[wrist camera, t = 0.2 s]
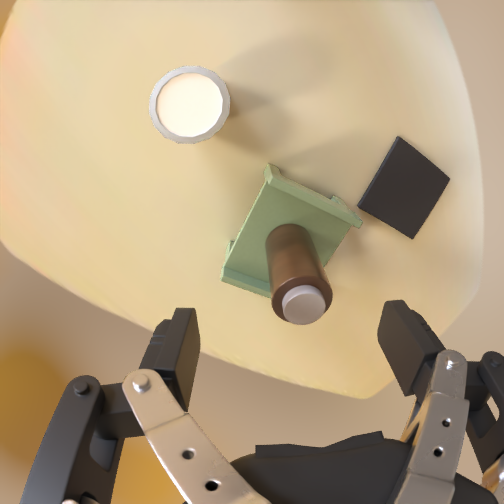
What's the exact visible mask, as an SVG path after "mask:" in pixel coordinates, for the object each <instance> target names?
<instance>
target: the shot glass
mask: <svg viewBox="0 0 504 504" xmlns="http://www.w3.org/2000/svg"><path fill="white" fill-rule="evenodd" d="M229 109H230V95H229V92H228V90H227V87H226V84H225V83H224V81H223V80H222V79H221V78H220V77H219V76H218V75H217V74H216V73H215V72H213V71H211V70H208V69H206V68H204V67H201V66H182V67H180V68H177V69H175V70H172V71H170V72H168V73H167V74H166V75H165V76H163V77H162V78H161V79H160V80H159V81H158V82H157V83H156V85H155V87H154V89H153V91H152V94H151V96H150V102H149V114H150V117H151V119H152V122H153V125H154V127H155V128H156V129H157V130H158V131H159V132H160V133H161V134H162V135H163V136H164V137H165V138H167V139H170V140H172V141H174V142H176V143H182V144H195V143H198V142H201V141H204V140H207V139H209V138H210V137H212V136H213V135H214V134H215V133H216V132H218V131H219V130H220V129H221V128H222V126H223V124H224V122H225V121H226V119H227V117H228V115H229Z"/></svg>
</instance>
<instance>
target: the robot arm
mask: <svg viewBox="0 0 504 504" xmlns="http://www.w3.org/2000/svg"><path fill="white" fill-rule="evenodd" d="M377 336H378V342H379V344H380V346H381V348H382V350H383V352H384V354H385V356H386V358H387V360H388V362H389V364H390V366H391V368H392V370H393V372H394V375H395V377H396V379H397V381H398V383H399V385H400V387H401V389H402V391H403V394H404V396H410V395H414V394H415V395H416V397H417V398H416V399H415V401H414V403H413V407H412V409H411V412H410V416H409V418H408V421H407V423H406V426H405V429H404V431H403V434H402V436H401V438H400V440H394V439H386V438H384V437H383V434H382V431H377V432H372V433H367V434H362V435H357V436H352V437H350V438H347V439H345V440H342V441H340V442H337V443H335V444H332V445H329V446H327V447H322V448H321V447H309V446H301V445H292V444H278V445H256V453H254V454H249V455H246V456H243V457H240V458H239V459H236V460H234V461H232V462H230V463H229V462H228V461H227V460H226V458H225V457H224V456H223V455H222V454H221V452H220V451H219V450H218V449H217V448H216V446H215V445H214V444H213V443H212V442H211V440H210V439H209V438H208V437H207V435H206V434H205V433H204V432H203V430H202V429H201V428H200V426H199V425H198V424H197V422H196V421H195V420H194V419H193V417H192V416H191V415H190V414H189V413H185V412H188V407H189V401H190V397H191V392H192V387H193V382H194V377H195V372H196V367H197V362H198V358H199V353H200V334H199V328H198V322H197V316H196V310H195V308H176V310H175V312H174V315H173V317H172V320H167V319H164V320H163V321H162V322H161V323H160V324H159V325H158V326H157V327H156V329H155V331H154V333H153V337H152V338H151V341H150V344H149V345H148V347H147V350H146V352H145V355H144V357H143V359H142V362H141V364H140V367H139V369H138V370H135V371H133V372H131V373H129V374H128V375H127V376H126V377H125V378H124V380H123V382H122V383H117V384H109V385H100V383H99V381H98V380H97V379H96V378H94V377H92V376H89V375H84V376H79V377H76V378H74V379H73V380H72V381H71V382H70V383H69V384H68V385H67V387H66V389H65V391H64V393H63V395H62V397H61V399H60V402H59V404H58V406H57V408H56V410H55V412H54V414H53V417H52V419H51V421H50V423H49V426H48V428H47V430H46V433H45V435H44V437H43V440H42V442H41V445H40V447H39V450H38V452H37V455H36V457H35V460H34V463H33V465H32V468H31V471H30V474H29V477H28V479H27V482H26V485H25V488H24V492H23V495H22V498H21V501H20V504H110V503H111V498H112V493H113V488H114V483H115V478H116V474H117V469H118V464H119V460H120V456H121V451H122V448H123V444H124V440H125V438H128V437H137V436H146V438H147V440H148V442H149V444H150V445H151V447H152V449H153V451H154V452H155V454H156V455H157V457H158V459H159V461H160V462H161V464H162V465H163V467H164V469H165V470H166V472H167V473H168V475H169V476H170V478H171V480H172V481H173V482H174V484H175V485H176V487H177V488H178V490H179V491H180V493H181V494H182V496H183V497H184V498H185V500H186V501H185V502H184V503H183V504H504V356H502V355H501V354H499V353H497V352H494V351H490V352H486V353H485V354H484V355H483V357H482V359H481V361H480V362H473V361H472V362H471V361H466V359H465V357H464V356H463V355H462V354H460V353H459V352H457V351H454V350H446V348H445V347H444V346H443V344H442V343H441V341H440V340H439V339H438V337H437V336H436V334H435V333H434V332H433V330H432V331H431V328H430V326H429V325H427V322H426V321H425V320H424V318H423V317H422V316H421V315H420V314H418V313H417V312H415V311H414V310H410V308H409V307H408V306H407V304H406V303H405V302H404V301H403V300H393V301H386V302H385V304H384V307H383V311H382V315H381V319H380V323H379V327H378V333H377ZM491 396H492V398H493V399H494V401H495V403H496V405H497V407H498V409H499V418H498V420H497V421H496V419H495V417H494V415H493V413H492V412H491V410H490V408H489V406H488V404H487V401H488V400H489V398H490V397H491ZM465 430H466V432H467V435H468V437H469V439H470V442H471V444H472V447H473V449H474V452H475V454H476V457H477V460H478V462H479V465H480V468H481V470H482V473H483V477H482V484H481V485H478V484H476V483H475V482H473V481H471V480H469V479H467V478H466V477H464V476H462V475H460V474H458V473H457V472H456V469H457V466H458V461H459V457H460V454H461V449H462V445H463V440H464V435H465Z"/></svg>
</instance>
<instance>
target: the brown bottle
mask: <svg viewBox="0 0 504 504" xmlns="http://www.w3.org/2000/svg"><path fill="white" fill-rule="evenodd" d="M265 249H266V257H267V266H268V275H269V284H270V293H271V302H272V308H273V310H274V312H275V313H276V315H277V316H278V317H280V318H281V319H283V320H285V321H287V322H291V323H293V324H297V325H306V324H310V323H313V322H315V321H316V320H318V319H319V318H320V317H321V316H322V315H323V314H324V313H325V312H326V311H327V310H328V308H329V307H330V305H331V302H332V298H333V293H332V289H331V286H330V284H329V281H328V279H327V276H326V273H325V271H324V268H323V266H322V263H321V261H320V258H319V256H318V253H317V251H316V248H315V246H314V244H313V241H312V239H311V236H310V234H309V233H308V231H307V230H306V229H305V228H303V227H302V226H300V225H297V224H283V225H280V226H278V227H276V228H275V229H273V230H272V231H271V232H270V233H269V235H268V237H267V239H266V243H265Z"/></svg>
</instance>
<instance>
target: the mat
mask: <svg viewBox="0 0 504 504" xmlns="http://www.w3.org/2000/svg"><path fill="white" fill-rule="evenodd" d="M449 180H450V178H449V177H448V176H447V175H445V174H444V173H443V172H442V171H441V170H440V169H439V168H438V167H436V166H435V165H434V164H433V163H432V162H431V161H429V160H428V159H427V158H426V157H425V156H423V155H422V154H421V153H420V152H418V151H417V150H416V149H415V148H413V147H412V146H411V145H410V144H408V143H407V142H406V141H404V140H403V139H402V138H400V137H398V136H397V138H396V140H395V142H394V143H393V145H392V147H391V149H390V151H389V152H388V154H387V156H386V158H385V160H384V161H383V163H382V165H381V167H380V168H379V170H378V172H377V173H376V175H375V177H374V179H373V180H372V182H371V184H370V185H369V187H368V189H367V190H366V192H365V194H364V195H363V197H362V199H361V200H360V202H359V204H358V205H357V206H358V207H359V208H360V209H362V210H364V211H366V212H367V213H369V214H371V215H373V216H374V217H376V218H378V219H380V220H381V221H383V222H385V223H386V224H388V225H390V226H391V227H393V228H395V229H396V230H398V231H400V232H401V233H403V234H405V235H406V236H408V237H409V238H411V239H413V238H414V237H415V235H416V234H417V232H418V231H419V229H420V228H421V226H422V225H423V223H424V222H425V220H426V218H427V217H428V215H429V214H430V212H431V211H432V209H433V207H434V206H435V204H436V202H437V201H438V199H439V197H440V196H441V194H442V192H443V191H444V189H445V187H446V185H447V184H448V182H449Z"/></svg>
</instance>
